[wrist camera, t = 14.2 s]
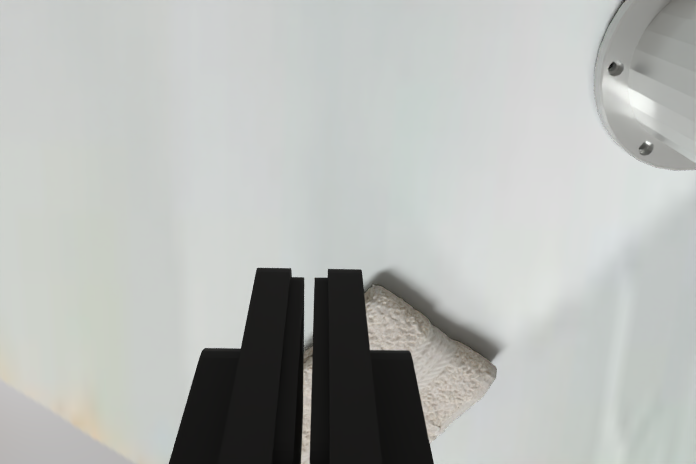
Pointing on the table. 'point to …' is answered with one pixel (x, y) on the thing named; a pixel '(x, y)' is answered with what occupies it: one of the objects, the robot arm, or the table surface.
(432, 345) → the washcloth
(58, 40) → the table surface
